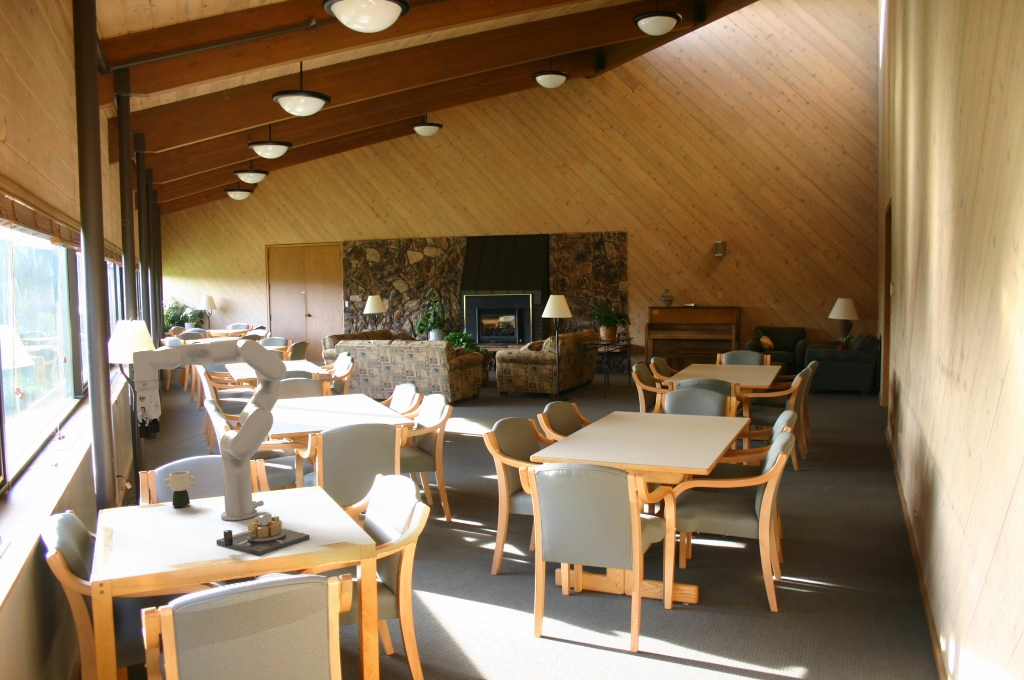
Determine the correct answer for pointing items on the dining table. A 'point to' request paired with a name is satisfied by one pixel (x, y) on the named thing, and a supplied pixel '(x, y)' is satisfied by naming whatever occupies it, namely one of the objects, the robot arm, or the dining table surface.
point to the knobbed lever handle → (255, 531)
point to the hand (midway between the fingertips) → (149, 435)
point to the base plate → (266, 539)
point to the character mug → (180, 487)
